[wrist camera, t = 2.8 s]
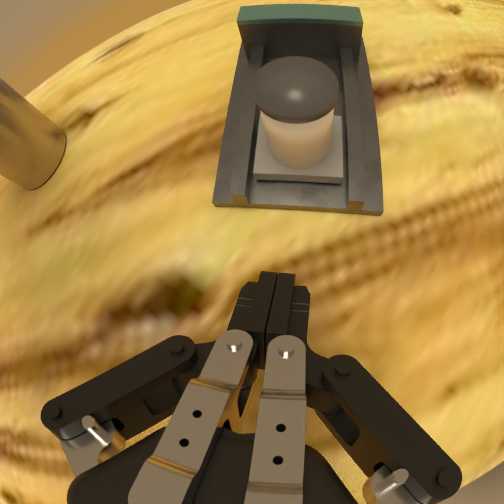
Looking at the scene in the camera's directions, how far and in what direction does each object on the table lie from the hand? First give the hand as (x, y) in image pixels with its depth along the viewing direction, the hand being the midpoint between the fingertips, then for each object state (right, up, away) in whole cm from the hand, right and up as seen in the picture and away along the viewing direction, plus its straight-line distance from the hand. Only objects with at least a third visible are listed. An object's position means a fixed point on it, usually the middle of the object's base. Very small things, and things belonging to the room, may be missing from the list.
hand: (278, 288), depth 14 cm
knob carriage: (+3, +10, +11) cm, 15 cm away
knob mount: (+4, +16, +13) cm, 21 cm away
